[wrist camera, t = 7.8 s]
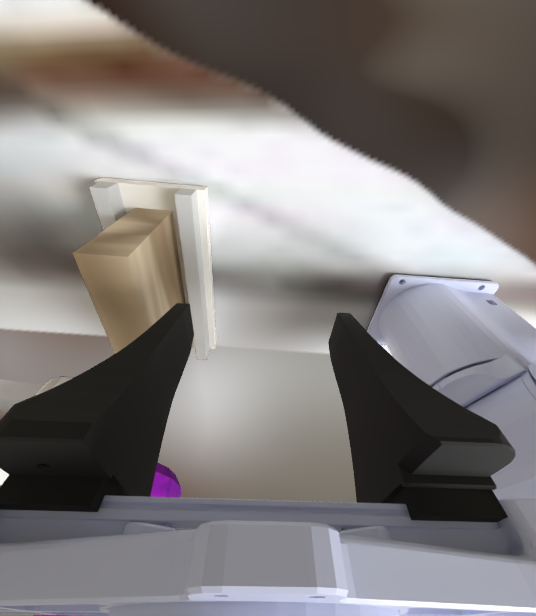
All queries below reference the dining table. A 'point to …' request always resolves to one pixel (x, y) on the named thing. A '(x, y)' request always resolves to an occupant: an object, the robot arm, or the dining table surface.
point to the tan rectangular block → (132, 273)
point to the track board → (189, 233)
